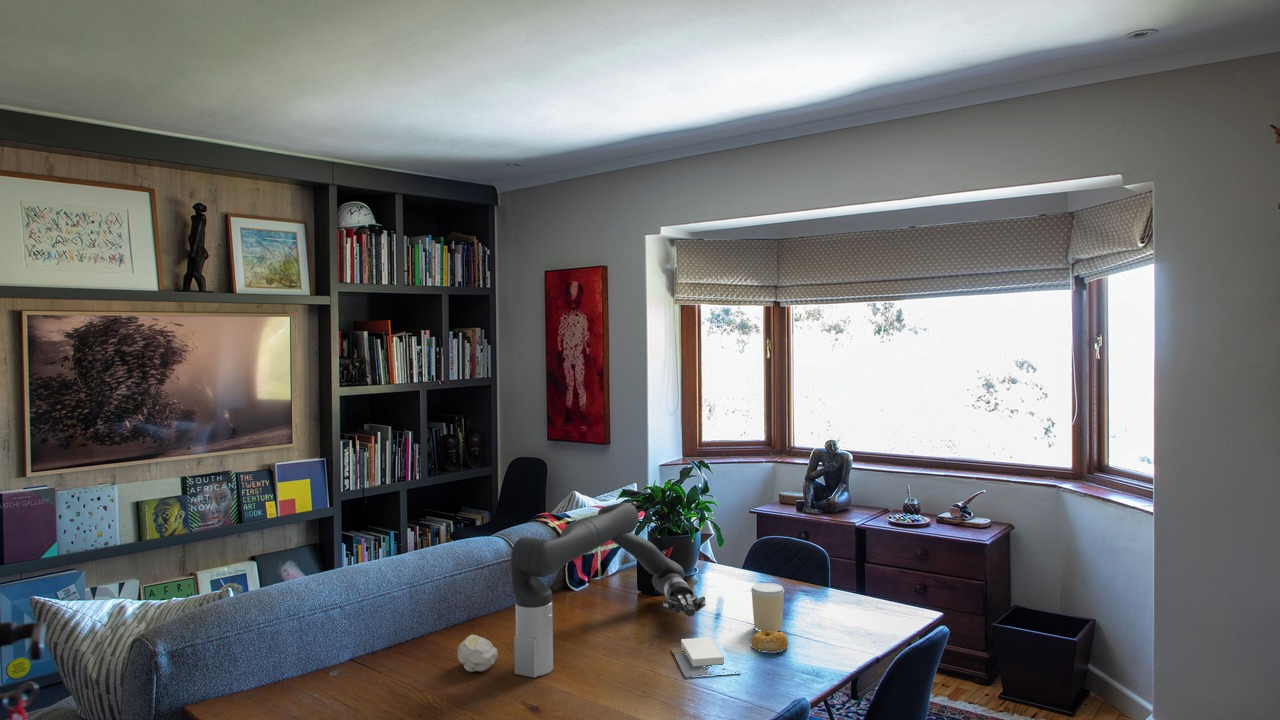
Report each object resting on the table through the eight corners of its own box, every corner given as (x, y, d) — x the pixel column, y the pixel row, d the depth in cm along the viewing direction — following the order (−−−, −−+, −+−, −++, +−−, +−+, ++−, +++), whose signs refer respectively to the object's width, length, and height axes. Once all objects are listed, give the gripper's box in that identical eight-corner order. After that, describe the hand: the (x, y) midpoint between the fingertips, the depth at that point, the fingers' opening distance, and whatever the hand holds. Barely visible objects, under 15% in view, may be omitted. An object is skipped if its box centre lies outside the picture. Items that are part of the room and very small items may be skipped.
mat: (671, 651, 215) (670, 649, 215) (721, 647, 217) (721, 645, 217) (685, 678, 197) (685, 676, 197) (740, 674, 199) (740, 672, 199)
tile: (681, 639, 216) (692, 659, 203) (710, 637, 218) (723, 657, 204) (681, 647, 216) (692, 667, 203) (710, 644, 218) (723, 665, 204)
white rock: (494, 657, 213) (456, 666, 209) (491, 626, 213) (452, 634, 210) (503, 671, 201) (462, 680, 198) (499, 637, 202) (459, 646, 198)
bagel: (789, 641, 221) (789, 624, 221) (787, 657, 211) (786, 639, 210) (753, 639, 224) (752, 622, 223) (748, 654, 213) (748, 636, 213)
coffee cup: (783, 623, 235) (782, 582, 235) (785, 635, 226) (785, 592, 225) (750, 622, 236) (750, 582, 236) (752, 634, 227) (751, 591, 226)
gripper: (656, 582, 239) (667, 601, 222) (699, 579, 241) (714, 598, 224) (656, 607, 240) (667, 628, 222) (700, 604, 242) (714, 624, 224)
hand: (690, 613), depth 223 cm, fingers closed
